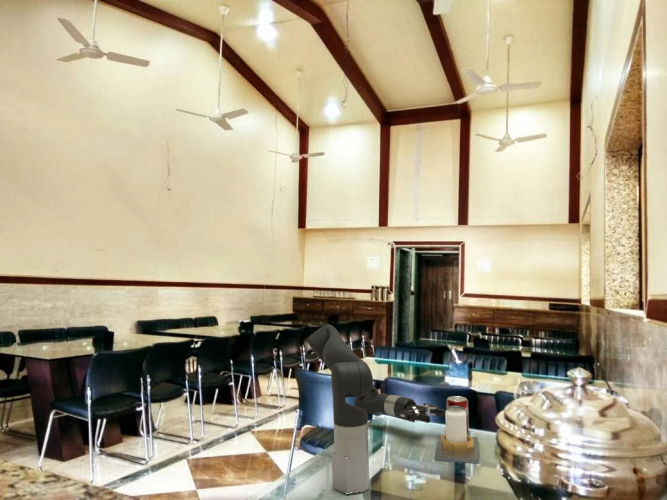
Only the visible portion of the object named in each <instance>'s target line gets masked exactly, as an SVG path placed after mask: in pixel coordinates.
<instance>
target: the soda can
mask: <svg viewBox="0 0 667 500" xmlns="http://www.w3.org/2000/svg"><path fill="white" fill-rule="evenodd" d="M449 406H460V407H463V408H464V411H465V413H466V425H467V435H468V434H469V433H470V424H469V400H468V399H467V397H464V396H459V395H458V396H456V395H454V396H449V397H447V399H446V408H447V407H449Z"/></svg>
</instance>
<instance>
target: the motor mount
mask: <svg viewBox="0 0 667 500" xmlns="http://www.w3.org/2000/svg"><path fill="white" fill-rule="evenodd" d="M434 461H436V462H437V461H438V462H450V463H451V462H452V463H462V464H463V463H465V464H466V463H467V464H477V463H479V462H480V449H479V438H478V436H471V435H468V434H467V442H465V443H453V442H450V441H446V433H445V434H437V440H436V446H435V453H434Z"/></svg>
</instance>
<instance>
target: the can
mask: <svg viewBox="0 0 667 500" xmlns="http://www.w3.org/2000/svg"><path fill="white" fill-rule="evenodd" d="M445 411H446V413H445V417H444V418H445V434H446V441H450V442H453V443H465V442H467V435H468V434H467V425H466V413H465V411H464V408H463V407H460V406H449V407H447V406H446V410H445Z"/></svg>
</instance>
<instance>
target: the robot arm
mask: <svg viewBox="0 0 667 500" xmlns="http://www.w3.org/2000/svg"><path fill="white" fill-rule="evenodd" d="M307 343H308V345H309V347H310V349H311V350H312V351H313V353H314V354H315V355H316V356H317V357H318V359H320V361H321V362H322V363H323V364H324V365H325V366H326V367H327V369H328V370H329V371H330V372H331V373H330V379H331V391H332V393H331V394H332V408H333V409H332V410H333V411H332V412H333V443H334V444H333V445H334V446H333V447H334V448H333V451H332V452H331V476H332V477H331V478H332V481H331V485H332V489H334V490H336V491H338V492H340V493H342V492H344V493H348V494H349V493H351V492H352V493H356V494H359V493H358V492H361V493H364V492H366V491H368V490H369V489H370V460H369V459H370V457H369V455H370V454H369V428H368V427H369V425H368V423H369V421H368V420H369V419H368V415H370V414H380V413H381V414H384V415H388V416H390V417H391V418H392V417H393V418H395V419H399V420H402V421H407V422H411V423H415V422H423V423H427V424H429V423H431V416H436V417H437V416H438V417H442V418H445V413H446V410H445V409H442V408H439V405H435V404H432V403H426V402H424V403H423V405H422V404H419V403H418V404H417V403H416V401H415V400H414V399H413V398H409V397H405V396H401V395H393V394H388V393H384V392H380V393H379V390H378V389H377V388H376V387H375V386H374V377H373V374H372V371H371V368H370V366H369V365H368V363H367V362H365V361H364V360H363V359H362V358H360V357H359V356H357V355H356V353H354V351H353V350H352V349H351V347H350V346H349V344H347V343H346V342H345V341H344V340H343V337H342V336H341V334H340V332H339V331H338V330H337V329H336V327H334V325H331V324H329V323H328V324H324V325H322V326H321V327H319V328H318V329H317V330H315V331H314V332H313V333H312V334H311V335H310V336H308V338H307ZM355 397H356V398H355ZM347 398H355V399H354V401H353V402H354V403H353V404H354V405H352V404H350V403H348V402H347V400H346V399H347ZM344 493H343V494H344Z"/></svg>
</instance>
